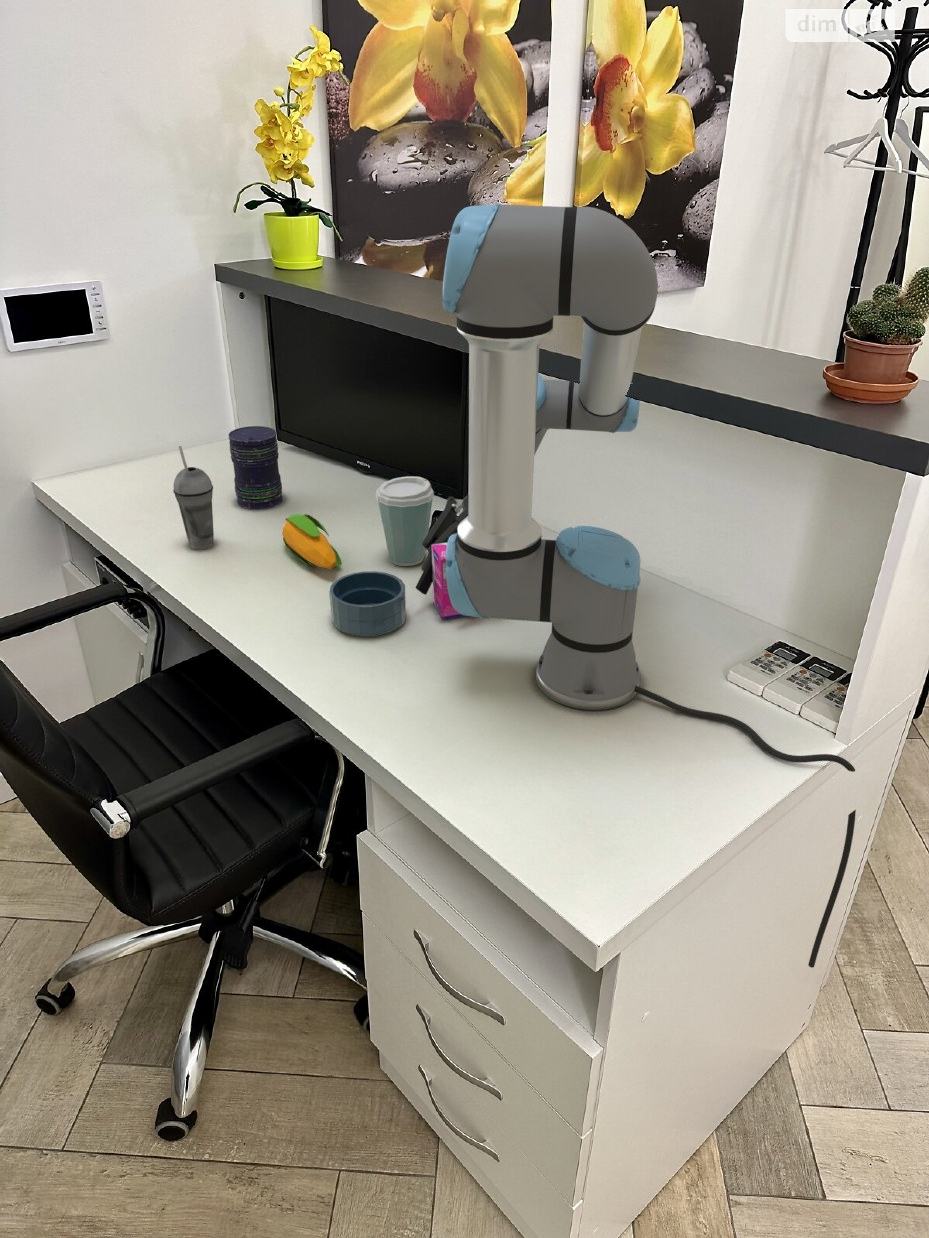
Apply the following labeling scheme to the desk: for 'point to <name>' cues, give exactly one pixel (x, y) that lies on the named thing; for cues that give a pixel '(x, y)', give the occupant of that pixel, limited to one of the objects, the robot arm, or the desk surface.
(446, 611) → the supplement box
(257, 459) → the storage jar
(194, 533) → the beverage cup
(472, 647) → the desk surface
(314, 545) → the corn
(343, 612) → the bowl
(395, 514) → the disposable coffee cup
